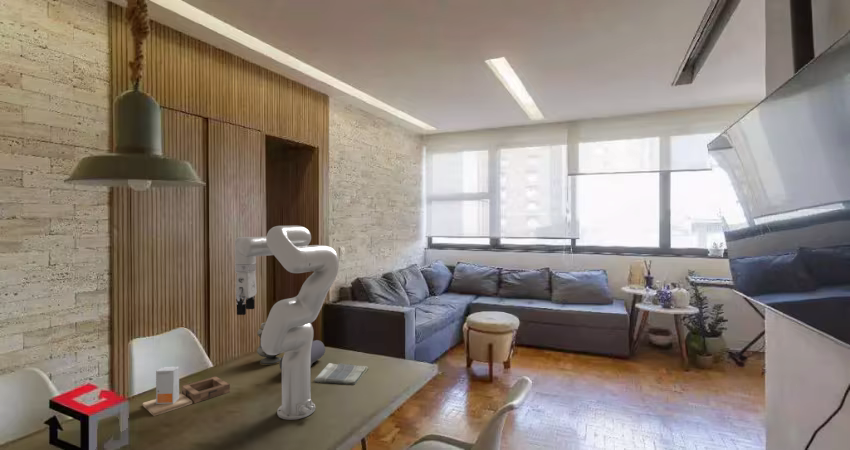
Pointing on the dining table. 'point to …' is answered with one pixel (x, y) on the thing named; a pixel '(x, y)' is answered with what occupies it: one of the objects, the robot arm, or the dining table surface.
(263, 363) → the grey tall piece
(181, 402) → the pad
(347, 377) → the dish towel
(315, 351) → the bluetooth speaker
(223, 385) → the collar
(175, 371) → the skincare box
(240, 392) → the dining table surface
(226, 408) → the dining table surface
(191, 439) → the dining table surface
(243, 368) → the dining table surface
